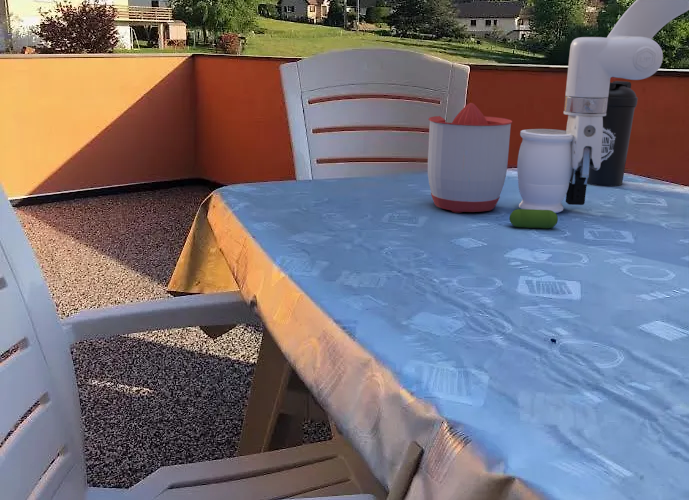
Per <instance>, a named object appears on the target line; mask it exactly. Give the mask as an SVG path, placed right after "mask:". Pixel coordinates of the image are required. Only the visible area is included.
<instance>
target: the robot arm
mask: <svg viewBox="0 0 689 500" xmlns="http://www.w3.org/2000/svg"><path fill="white" fill-rule="evenodd" d="M688 11H689V0H635V1H634V2H633V3H632V4H630V6H629V7H628V8H627V10H625V12H624V13H623V14H622V15H621V17H620V18H619V19H618V20H617V22H616V23H615V24H614V26H613V28H612V29H611V31H610V32H609V33H608V35H607V37H602V36H581V37H576V38H574V39H573V40H572V41H571V43H570V48H569V56H568V66H567V75H566V86H565V96H564V105H563V115H567V122H566V129H565V131H566V134H572V135H573V140H572V141H571V167H572V168H573V172H572V176H571V179H570V182H569V188H568V191H567V193H566V196H565V203H566V204H567V205H570V206H584V205H585V203H586V195H587V184H588V183H587V179H588V177H589V167H591V168H592V169H594V170H598V169H599V168H600V165H601V152H602V138H603V117H602V116H606V111H607V103H608V95H609V86H610V82H611V78H615V79H624V80H631V81H640V80H644V79H648V78H650V77H651V76H653V75H654V74H656V73H657V72H658V71H659V69H660V68H661V66H662V63H663V60H664V54H663V49H662V47H661V46H660V45H659V44H658V42H657V41H656V40H654V39H653V38H654V37H655V36H656V34H657V33H658V32H659V31H660V30H661V29H662V28H663V27H664V26H666V25H667V24H669V23H670V22H671V21H673V20H674V19H675V18H677V17H679V16H681V15H683V14H685V13H686V12H688Z"/></svg>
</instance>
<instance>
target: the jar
mask: <svg viewBox="0 0 689 500" xmlns="http://www.w3.org/2000/svg"><path fill="white" fill-rule="evenodd" d="M519 136H520V137H521V138H522V139H521V143H520V146H519V148H518V149H519V150H518V154H517V163H516V164H517V165H516V171H517V172H516V174H517V184H518V185H517V187H518V191H519V195H520V198H521V202H519V204H518V208H519V209H534V210H551V211H553V212H555V213H556V214H558V213H561V212H563V211H564V205H563V203H562V202H563V201H564V199H565V198H566V193H567V191H568V188H569V182H570V179H571V176H572V172H573V168H572V167H571V141H572V140H573V135H572V134H566V130H565V129H552V128H529V129H522V130H520V132H519Z"/></svg>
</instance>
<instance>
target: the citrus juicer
mask: <svg viewBox="0 0 689 500" xmlns="http://www.w3.org/2000/svg"><path fill="white" fill-rule="evenodd" d="M428 121H429V128H428V129H429V131H428V132H429V133H428V134H429V135H428V149H427V150H428V151H427V178H428V185H429V190H430V196H431V198H432V201H433V204H434V205H435V206H436V207H437V208H440V209H443V210H448V211H451V212H452V213H455V214H456V213H458V214H461V213H463V212H464V213H465V212H466V213H475V212H476V213H480V212H490V211H492V210H494V209H495V207H496V206H497V204H498V202H499V200H500V198H501V194H502V191H503V188H504V185H505V182H506V177H507V171H508V164H509V163H508V161H509V150H510V139H511V138H510V137H511V126H512V124H513V120H511V119H508V118H504V117H496V116H485V115H484V113H483V112H482V111H481V110H480V108H479V107H477V105H476V104H475V103H474V102H469V103H467V104H466V106H464V107H463V108H462V109H461V110H460V111H459V112H458V114H456V116H454V119H453V120H452V122H446V119H445V118H443V117H442V116H441V115H437V116H429V118H428Z"/></svg>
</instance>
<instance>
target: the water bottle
mask: <svg viewBox="0 0 689 500" xmlns="http://www.w3.org/2000/svg"><path fill="white" fill-rule="evenodd" d="M638 100H639V97H638V96H637V94H636V92H635V91H634V90H633V89H632V83H631V81H623V80H614V81H612V82H611V81H610V86H609V95H608V103H607V111H606V116H602V117H603V138H602V152H601V165H600V168H599V169H598V170H594V169H592V168H591V167H589V177H588V179H587V184H588V185H593V186H598V187H599V186H600V187H619V186H622V185H623V181H624V176H625V169H626V163H627V157H628V152H629V145H630V139H631V133H632V127H633V122H634V121H633V120H634V114H635V109H636V108H637V105H638Z"/></svg>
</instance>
